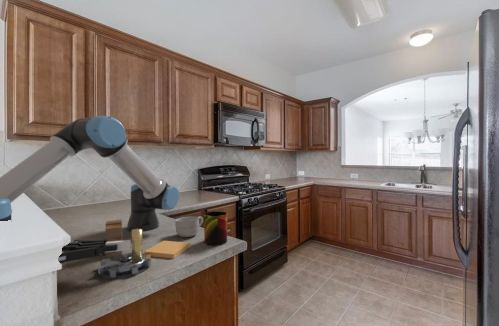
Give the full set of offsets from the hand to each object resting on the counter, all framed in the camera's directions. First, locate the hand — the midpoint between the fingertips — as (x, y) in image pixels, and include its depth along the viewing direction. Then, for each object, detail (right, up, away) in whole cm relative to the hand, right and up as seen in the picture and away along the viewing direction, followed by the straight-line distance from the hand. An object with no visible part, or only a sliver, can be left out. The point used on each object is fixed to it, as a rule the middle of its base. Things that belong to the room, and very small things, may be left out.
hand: (130, 244), depth 72 cm
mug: (+22, -9, +30) cm, 38 cm away
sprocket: (-3, -9, +4) cm, 10 cm away
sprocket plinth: (-3, -9, +4) cm, 10 cm away
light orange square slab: (+5, -9, +18) cm, 21 cm away
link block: (-14, -9, +15) cm, 22 cm away
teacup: (+9, -9, +38) cm, 40 cm away
